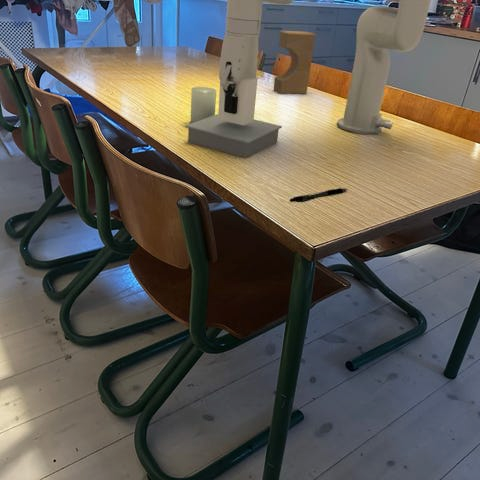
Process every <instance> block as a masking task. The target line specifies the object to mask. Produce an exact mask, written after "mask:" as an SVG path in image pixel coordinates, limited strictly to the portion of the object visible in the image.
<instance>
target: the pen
mask: <svg viewBox="0 0 480 480" xmlns="http://www.w3.org/2000/svg"><path fill="white" fill-rule="evenodd" d="M347 191H348V189H347V188H344V187H343V188H341V187H339V188H335V189H328V190H325V191H319V192H315V193H310V194H305V195H298V196H295V197H294V196H293V198H290V199H289V202H291V203H292V202H297V203H305V202H308V201H311V200H315V199H317V198H321V197H326V196H334V195H338V194H343V193H346V192H347Z"/></svg>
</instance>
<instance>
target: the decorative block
mask: <svg viewBox="0 0 480 480" xmlns="http://www.w3.org/2000/svg"><path fill="white" fill-rule="evenodd" d="M278 38H279V40H278V46H279V47H282V48H284V49H286V51H288V54H289V55H290V65H289V66H288V68H287V70H286V71H285V72H284V73H283V74H281V75H278V76H275V77H274V82H273V91H274V92H276V93H278V94H279V95H307V94H308V86H309V80H310V73H311V66H312V60H313V59H312V58H313V54H314V53H313V52H314V48H315V47H314V46H315V39H316V34H315V33H314V32H310V31H298V30H280V33H279V37H278Z"/></svg>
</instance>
